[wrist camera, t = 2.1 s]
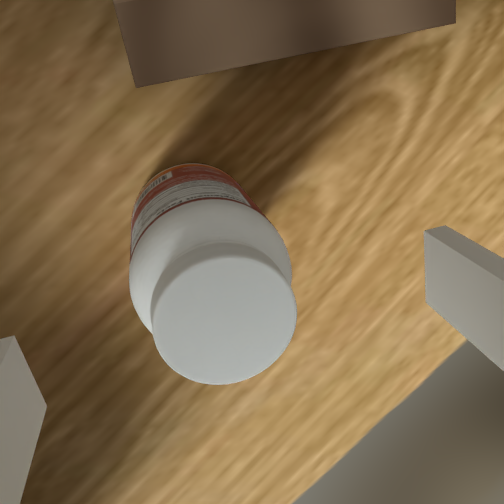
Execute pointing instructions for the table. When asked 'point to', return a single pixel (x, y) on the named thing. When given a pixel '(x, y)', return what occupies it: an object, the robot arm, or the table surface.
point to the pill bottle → (209, 276)
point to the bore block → (257, 30)
